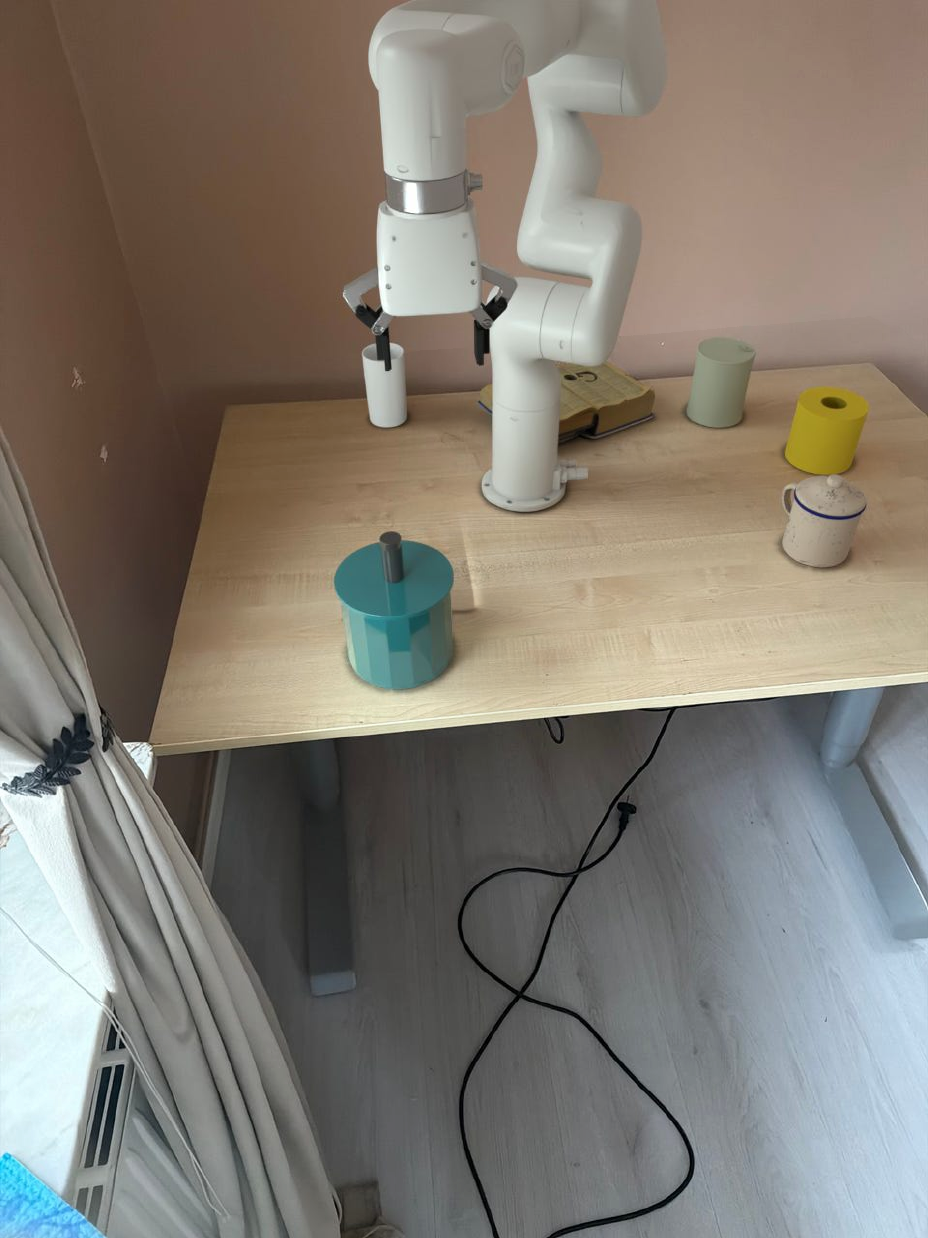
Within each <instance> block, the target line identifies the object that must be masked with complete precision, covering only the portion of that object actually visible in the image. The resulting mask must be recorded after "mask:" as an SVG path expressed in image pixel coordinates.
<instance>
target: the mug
mask: <svg viewBox="0 0 928 1238" xmlns="http://www.w3.org/2000/svg"><path fill="white" fill-rule="evenodd" d="M390 353H391V366H392V370H390V371H385V364H384V360H377V350H376V342H374V343H371V344H369V345H367V346H366V347H364V348H363V349H362V351H361V356H362V367H363V376H364V384H365V392H366V398H367V407H368V408H367V409H368V413H369V420H370V422H371V423H372V424H373V425H374V426H376V427H380V428H395V427H398V426H401V425H402V424H404V423H406V420H407V419H408V409H407V405H408V404H407V385H406V384H407V383H406V362H405V361H406V360H405V349H404V348H403V346H401V345H399V344H397V343H394V342H390Z"/></svg>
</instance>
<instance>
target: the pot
mask: <svg viewBox="0 0 928 1238" xmlns="http://www.w3.org/2000/svg"><path fill="white" fill-rule="evenodd" d="M340 608H341V615H342V621H343V628H344V635H345V642H346V649H347V657H348V661H349V662H350V665H351V668H352V670H353V671H354V672H355V674H356V675H357V676H358V677H359V678H360V679H362V680H363V681H365V682H366V683H369V684H370V685H373V686H374V687H378V688H382V689H385V690H386V689H387V690H408V689H413V688H417V687H421V686H423V685H426V684H427V683H430V682H432V681H434V680H435V679H437V678H438V677H439V676H441V675H442V674H443V673H444V671H445V670H446V669H447V667H449V664H450V662H451V660H452V656H453V652H454V645H453V644H454V643H453V641H454V640H453V618H452V617H453V615H452V591H451V592H450V593H449V595H448V597H447V598H446V599H445V600H444V601H443V602H442V603H441V604H440V605H439V606H437V607H436V608H434V609H433V610H431V611H429V612H427V613H425V614H422V615H420V616H416V617H413V618H409V619H404V620H392V621H387V620H376V619H371V618H367V617H364V616H361V615H358V614H356V613H354V612H352V611H351V610H349V609H348V608H346V607H345V606H344V605H343V604H342V603H341V602H340Z"/></svg>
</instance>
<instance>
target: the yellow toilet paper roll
mask: <svg viewBox="0 0 928 1238" xmlns="http://www.w3.org/2000/svg"><path fill="white" fill-rule="evenodd" d="M869 411H870V405H869V403H868V401H867V400H866V399H865V398H864V397H863V396H861V395H860V394H858V393H855V392H854V391H851V390H849V389H845V388H839V387H836V386H835V387H834V386H815V387H811V388H808V389H805V390H804V391H803V392H801V393H800V394H799V396H798V400H797V404H796V408H795V411H794V412H795V413H794V414H793V418H792V423H791V427H790V431H789V435H788V439H787V442H786V446H785V450H784V457H785V459H786V460H787V461H788V463H789V464H791V465H792V466H793V467H794V468H796V469H799V470H801V471H803V472H806V473H809V474H814V475H818V476H830V475H833V474H836V475H840V474H842V473H844V472H846V471H848V470H849V469H850V468H851V466H852V463H853V460H854V457H855V454H856V452H857V448H858V444H859V441H860V438H861V435H862V432H863V429H864V426H865V424H866V420H867V416H868V413H869Z"/></svg>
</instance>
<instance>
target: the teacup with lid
mask: <svg viewBox="0 0 928 1238" xmlns="http://www.w3.org/2000/svg"><path fill="white" fill-rule="evenodd" d="M792 490H793V501H791V495H792ZM781 503H782V507H783V509H784V511H785V513H786V514H787V516H788V519H787V523H786V527H785V530H784V533H783V537H782V541H781V542H782V543H781V544H782V547H783V550H784V552H785V553H786V554H787V555H788V556H789V557H790V558H791V559H793V560H794V561H796V562H798V563H800V564H803V565H805V566H809V567H812V568H813V567H814V568H830V567H835V566H838V565H839V564H841V563H843V562H844V561H845V560H846V559H847V557H848V555H849V552H850V549H851V546H852V543H853V541H854V538H855V535H856V532H857V529H858V526H859V523H860V520H861V517H862V515H863V513H864V512H865V511H866V508H867V505H868V504H867V498H866V494H865V493H864V491H863V490H862V489H861V488H860V486H858V485H856V484H855V483H853V482H851V481H849V480H848V479H844V477H843V476H842V475H840V474H833V475H815V476H809V477H807V478H804V479H803V480H802V481H800V482H799V483H798V482H791V483H788V484H787V485H785V486H784V488H783V489H782V493H781Z"/></svg>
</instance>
